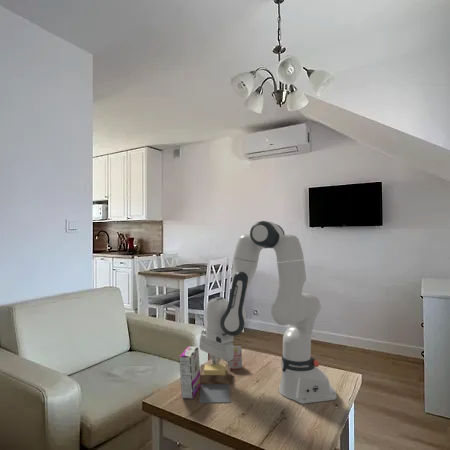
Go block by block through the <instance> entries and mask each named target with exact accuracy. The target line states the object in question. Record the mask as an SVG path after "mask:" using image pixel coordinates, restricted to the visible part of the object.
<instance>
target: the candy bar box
mask: <svg viewBox="0 0 450 450" xmlns="http://www.w3.org/2000/svg"><path fill="white" fill-rule="evenodd" d="M178 359H179V373H180V374H179V375H180V385H181V386H180V389H181V398H182V399H192V400H193V399H194V398H195V396H196V395H197V393H198V392H199V389H201V379H200V370H201V365H200V354H199V346H197V345H196V346H193V345H191V346H190V345H189V346H187V347H186V348H185V349H184V350H183V352H182V353H181V354H180V355H179V357H178Z"/></svg>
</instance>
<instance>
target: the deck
mask: <svg viewBox="0 0 450 450" xmlns="http://www.w3.org/2000/svg"><path fill="white" fill-rule="evenodd" d="M200 364H201V363H200ZM219 365H225V375H204V368H205V363H204V364H201V365H200V379H201V384H229V385H230V386H231V385H232V383H231V381H232V380H231V369H230V364H227V363H225V364H221V363H219Z"/></svg>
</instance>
